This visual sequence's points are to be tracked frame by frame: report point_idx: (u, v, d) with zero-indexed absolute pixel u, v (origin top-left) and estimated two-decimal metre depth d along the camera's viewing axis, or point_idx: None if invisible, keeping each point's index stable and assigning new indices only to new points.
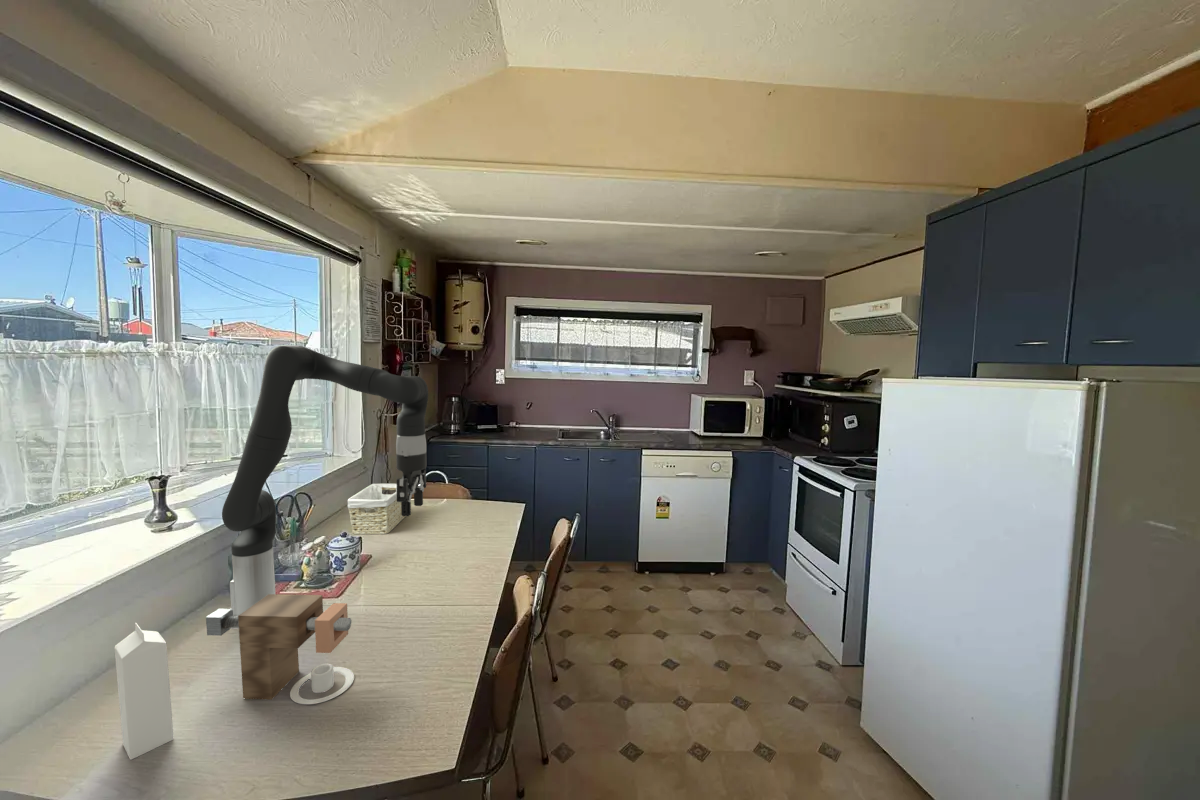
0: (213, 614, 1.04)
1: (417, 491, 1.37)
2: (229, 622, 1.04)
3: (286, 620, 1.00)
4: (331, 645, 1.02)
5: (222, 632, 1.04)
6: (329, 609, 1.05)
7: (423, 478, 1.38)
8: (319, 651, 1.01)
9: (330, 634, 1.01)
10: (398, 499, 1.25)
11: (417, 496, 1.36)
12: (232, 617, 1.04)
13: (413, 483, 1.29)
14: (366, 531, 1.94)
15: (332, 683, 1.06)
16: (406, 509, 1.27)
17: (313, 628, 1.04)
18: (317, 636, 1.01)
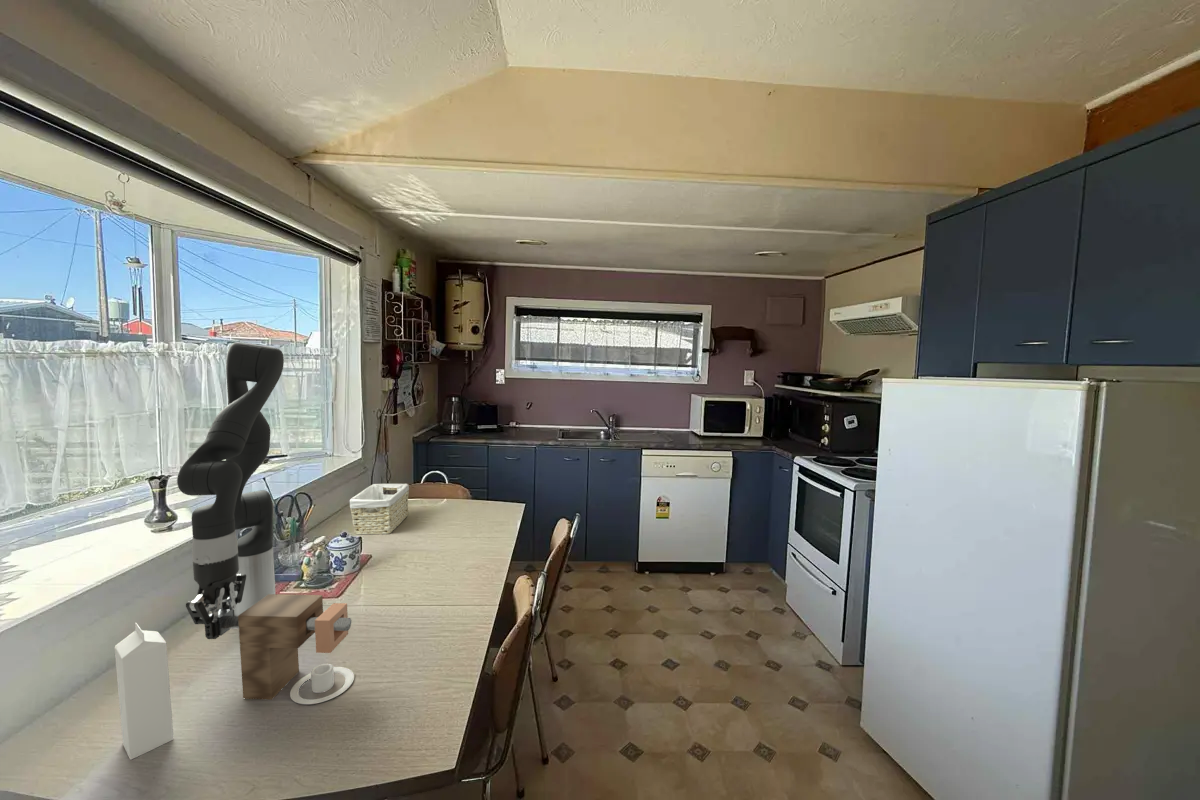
0: None
1: None
2: (229, 622, 1.04)
3: (286, 620, 1.00)
4: (331, 645, 1.02)
5: (222, 632, 1.04)
6: (329, 609, 1.05)
7: (239, 589, 1.09)
8: (319, 651, 1.01)
9: (330, 634, 1.01)
10: (196, 622, 1.00)
11: None
12: (232, 617, 1.04)
13: (216, 598, 1.02)
14: (368, 531, 1.94)
15: (332, 683, 1.06)
16: (211, 631, 1.02)
17: (313, 628, 1.04)
18: (317, 636, 1.01)
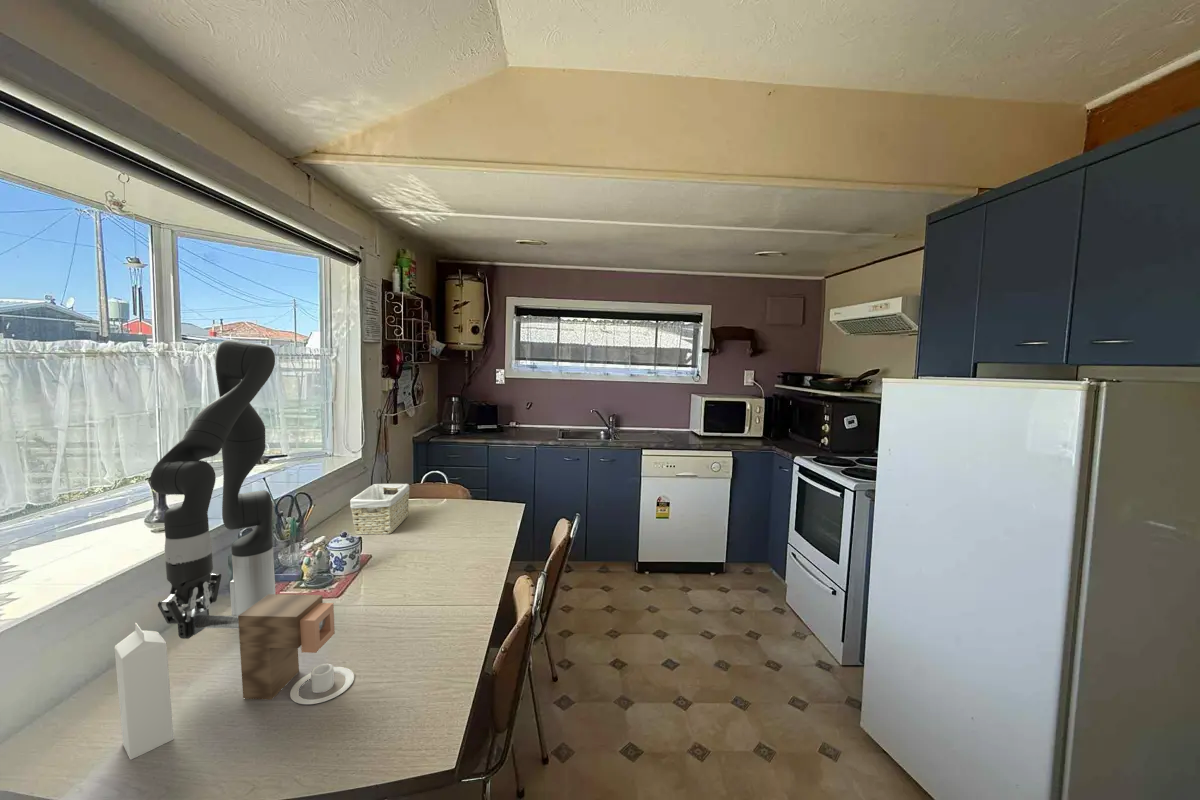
0: None
1: None
2: (203, 622, 1.04)
3: (286, 620, 1.00)
4: (317, 644, 1.02)
5: (196, 631, 1.04)
6: (315, 609, 1.05)
7: (213, 588, 1.09)
8: (304, 651, 1.02)
9: (316, 634, 1.01)
10: (169, 622, 1.00)
11: None
12: (206, 617, 1.05)
13: (189, 598, 1.02)
14: (369, 531, 1.94)
15: (332, 683, 1.06)
16: (184, 631, 1.02)
17: None
18: (302, 636, 1.01)
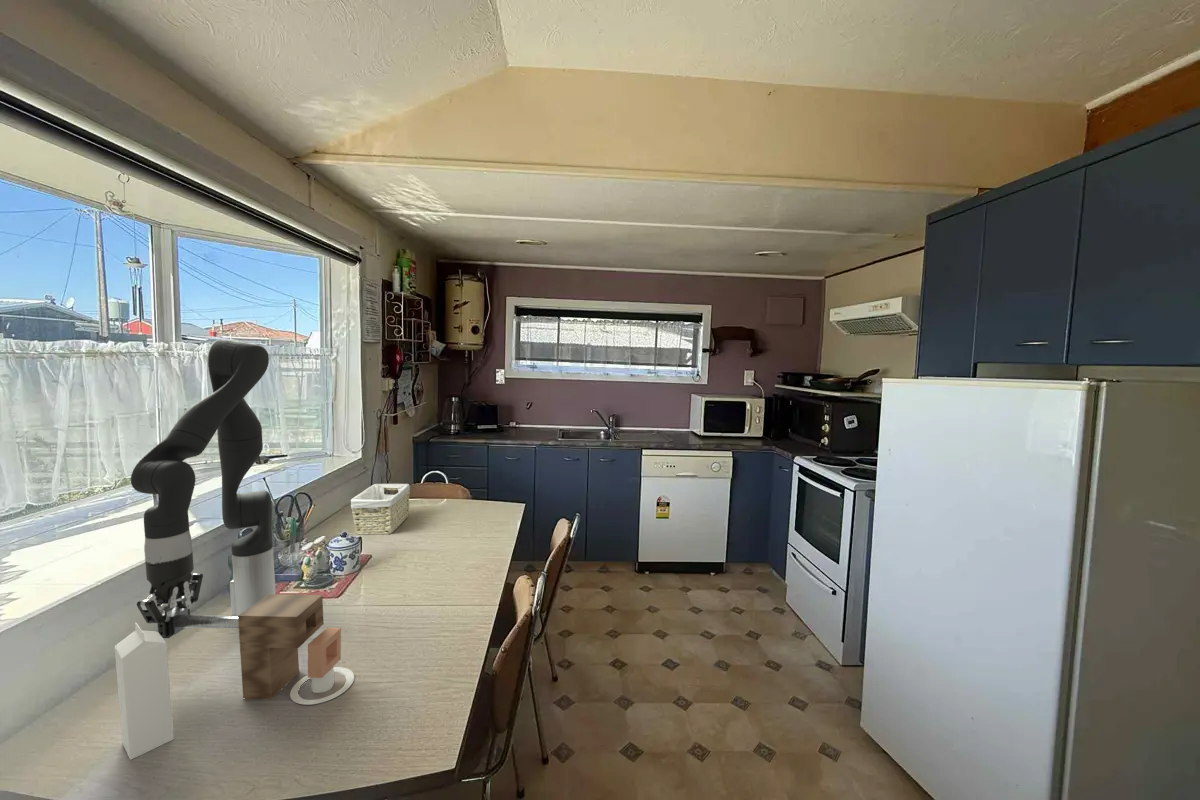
0: None
1: None
2: (183, 621, 1.04)
3: (286, 620, 1.00)
4: (323, 669, 1.03)
5: (176, 631, 1.04)
6: (323, 633, 1.06)
7: (195, 588, 1.09)
8: (311, 676, 1.02)
9: (322, 659, 1.02)
10: (148, 622, 1.00)
11: None
12: (186, 616, 1.05)
13: (169, 597, 1.02)
14: (369, 531, 1.94)
15: (332, 683, 1.06)
16: (164, 630, 1.02)
17: None
18: (309, 660, 1.02)
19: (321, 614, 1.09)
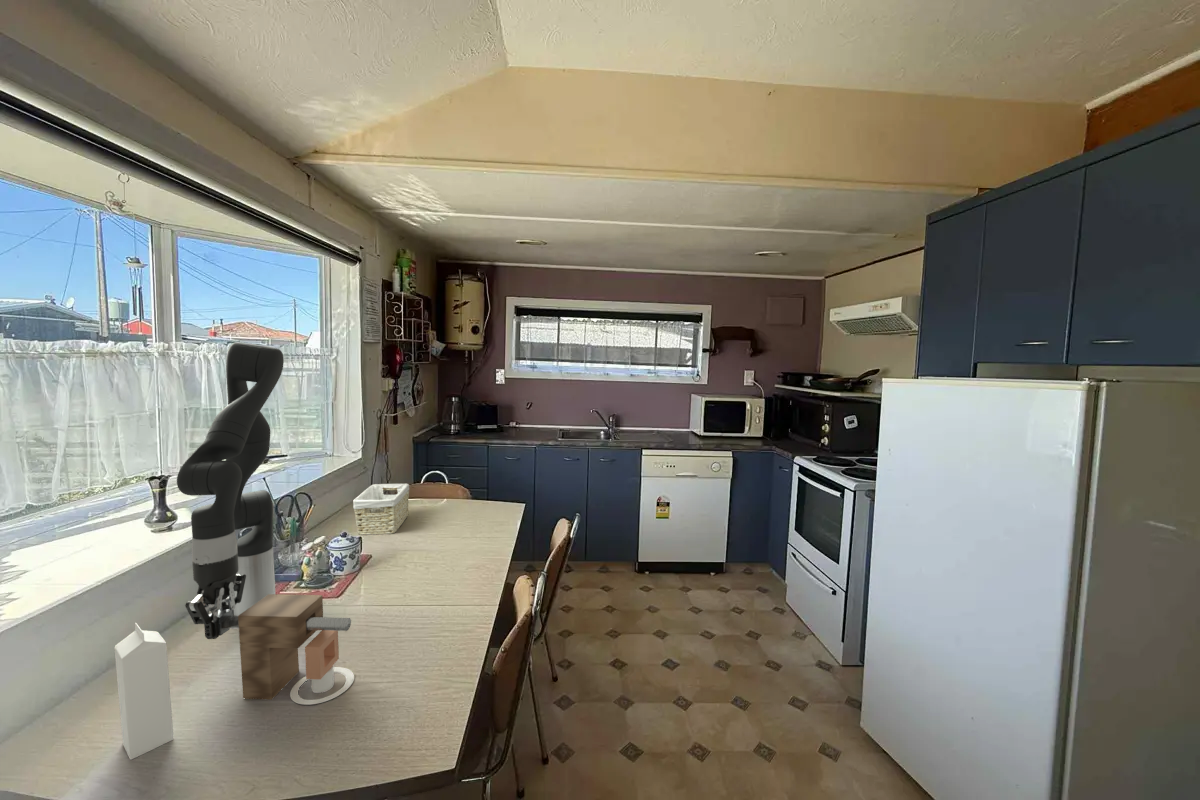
0: None
1: None
2: (229, 622, 1.04)
3: (286, 620, 1.00)
4: (322, 671, 1.03)
5: (222, 632, 1.04)
6: (320, 635, 1.06)
7: (238, 589, 1.09)
8: (309, 677, 1.02)
9: (320, 661, 1.02)
10: (196, 622, 1.00)
11: None
12: (232, 617, 1.04)
13: (216, 598, 1.02)
14: (372, 531, 1.93)
15: (332, 683, 1.06)
16: (210, 631, 1.02)
17: (313, 628, 1.04)
18: (307, 663, 1.02)
19: (321, 614, 1.09)
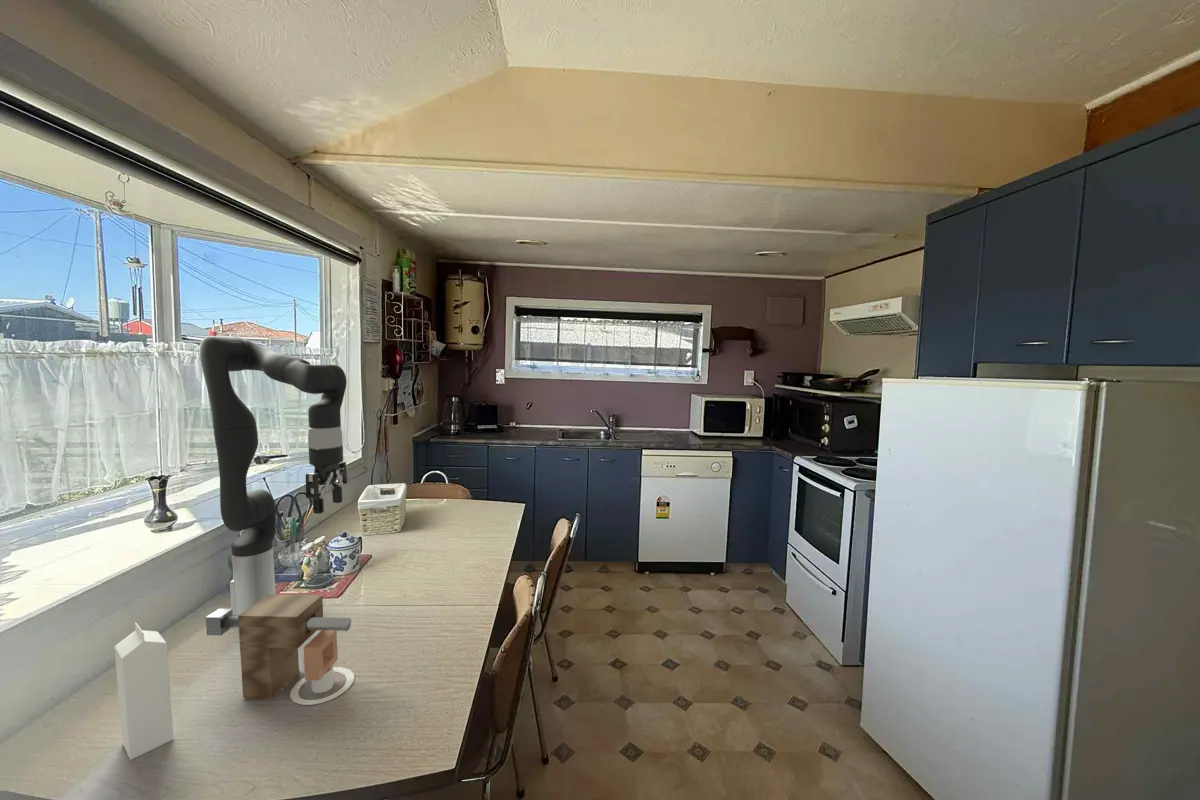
0: (213, 614, 1.04)
1: (336, 487, 1.29)
2: (229, 622, 1.04)
3: (286, 620, 1.00)
4: (320, 672, 1.02)
5: (222, 632, 1.04)
6: (318, 636, 1.06)
7: (343, 473, 1.30)
8: (308, 678, 1.02)
9: (319, 662, 1.02)
10: (307, 495, 1.17)
11: (336, 492, 1.29)
12: (232, 617, 1.04)
13: (326, 478, 1.22)
14: (377, 531, 1.94)
15: (332, 683, 1.06)
16: (318, 506, 1.20)
17: (313, 628, 1.04)
18: (306, 664, 1.02)
19: (321, 614, 1.09)
